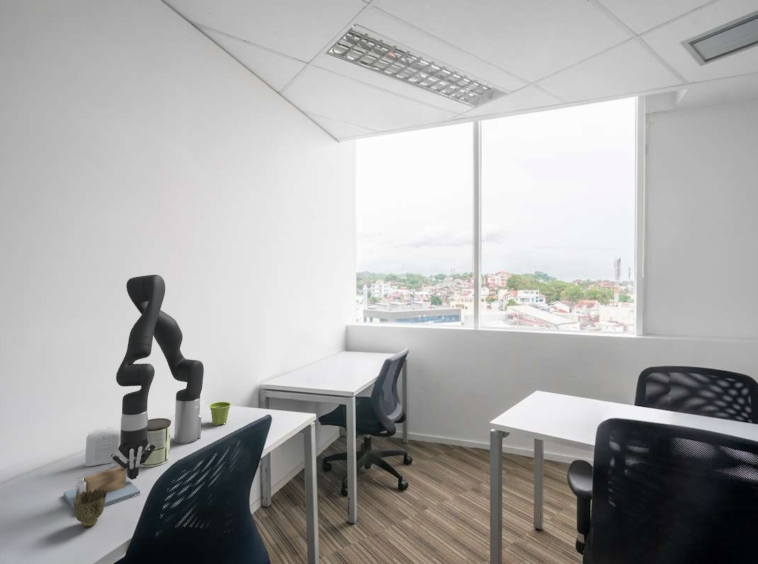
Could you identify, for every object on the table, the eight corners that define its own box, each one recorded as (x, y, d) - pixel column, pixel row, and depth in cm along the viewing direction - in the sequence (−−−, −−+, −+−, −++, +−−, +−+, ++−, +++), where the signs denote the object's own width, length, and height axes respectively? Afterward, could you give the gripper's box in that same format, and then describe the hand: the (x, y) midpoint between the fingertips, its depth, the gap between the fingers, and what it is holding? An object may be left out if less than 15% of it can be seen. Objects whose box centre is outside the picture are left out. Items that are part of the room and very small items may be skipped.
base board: (122, 477, 136) (122, 474, 136) (139, 494, 126) (140, 490, 126) (63, 495, 124) (63, 492, 124) (77, 516, 114) (78, 511, 114)
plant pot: (203, 425, 185) (204, 406, 185) (217, 418, 194) (218, 400, 194) (221, 428, 183) (222, 409, 183) (234, 421, 192) (235, 403, 192)
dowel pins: (81, 494, 123) (82, 477, 123) (86, 500, 120) (87, 482, 120) (75, 496, 122) (75, 479, 122) (79, 502, 119) (80, 484, 119)
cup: (83, 516, 114) (84, 488, 114) (111, 516, 115) (112, 488, 115) (65, 533, 107) (66, 502, 107) (95, 532, 107) (96, 502, 107)
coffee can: (134, 460, 149) (135, 421, 149) (164, 452, 156) (166, 416, 156) (142, 470, 142) (143, 430, 141) (173, 462, 149) (175, 423, 149)
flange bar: (87, 499, 120) (88, 482, 120) (83, 493, 123) (83, 477, 123) (125, 487, 128) (126, 471, 128) (120, 481, 131) (121, 466, 131)
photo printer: (119, 457, 150) (120, 424, 150) (119, 462, 147) (121, 428, 147) (85, 463, 145) (86, 428, 145) (84, 468, 141) (85, 433, 141)
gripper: (151, 417, 139) (149, 467, 139) (106, 427, 128) (105, 481, 129) (160, 423, 134) (159, 475, 134) (115, 434, 124) (113, 490, 124)
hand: (132, 478), depth 132 cm, fingers closed
